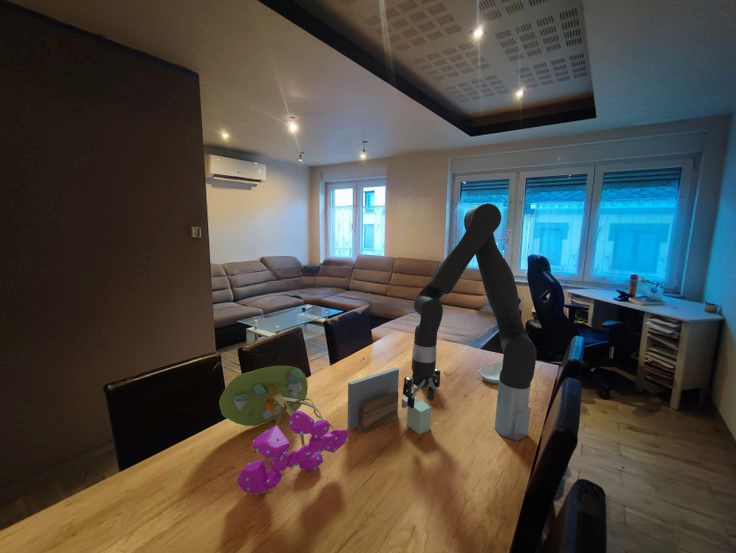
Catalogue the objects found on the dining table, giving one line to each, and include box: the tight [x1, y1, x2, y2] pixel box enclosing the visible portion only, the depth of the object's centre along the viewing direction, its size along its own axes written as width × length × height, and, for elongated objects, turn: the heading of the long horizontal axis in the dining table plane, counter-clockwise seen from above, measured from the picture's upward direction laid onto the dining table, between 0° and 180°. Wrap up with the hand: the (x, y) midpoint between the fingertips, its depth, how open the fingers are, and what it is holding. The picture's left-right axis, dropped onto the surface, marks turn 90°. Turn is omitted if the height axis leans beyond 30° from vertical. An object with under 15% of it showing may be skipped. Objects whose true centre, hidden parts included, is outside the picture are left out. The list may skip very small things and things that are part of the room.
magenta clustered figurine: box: [218, 365, 349, 496], centre depth 90 cm, size 30×28×35 cm
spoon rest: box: [478, 359, 503, 384], centre depth 143 cm, size 24×12×7 cm, turn 124°
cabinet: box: [401, 396, 433, 435], centre depth 107 cm, size 9×5×8 cm, turn 35°
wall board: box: [347, 367, 400, 431], centre depth 109 cm, size 2×20×16 cm, turn 125°
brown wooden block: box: [357, 391, 399, 434], centre depth 107 cm, size 4×14×10 cm, turn 125°
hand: (420, 403), depth 105 cm, fingers open, 8 cm apart
